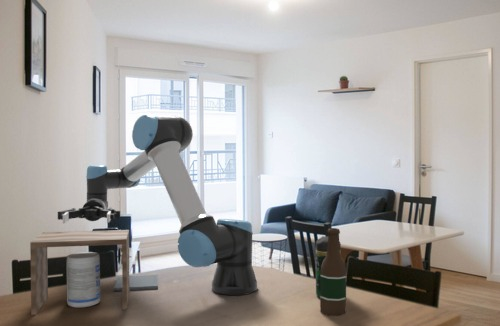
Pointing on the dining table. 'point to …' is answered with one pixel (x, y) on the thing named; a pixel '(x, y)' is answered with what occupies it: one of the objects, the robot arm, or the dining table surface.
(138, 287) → the mat
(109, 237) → the shelf
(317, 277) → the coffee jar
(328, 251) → the beer bottle
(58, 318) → the dining table surface
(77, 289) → the supplement tub
